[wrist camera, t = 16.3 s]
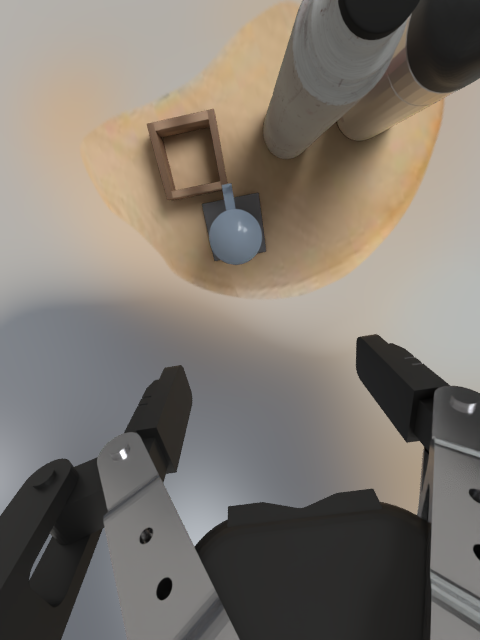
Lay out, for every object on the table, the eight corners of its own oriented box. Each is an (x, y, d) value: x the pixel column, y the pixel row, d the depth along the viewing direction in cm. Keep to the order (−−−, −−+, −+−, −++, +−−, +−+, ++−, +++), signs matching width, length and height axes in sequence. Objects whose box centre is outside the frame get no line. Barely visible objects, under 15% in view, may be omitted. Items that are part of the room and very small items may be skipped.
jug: (247, 188, 41) (253, 175, 27) (255, 244, 45) (265, 259, 30) (210, 195, 42) (197, 187, 27) (222, 250, 45) (215, 268, 31)
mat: (258, 192, 42) (258, 192, 41) (265, 251, 46) (266, 251, 46) (202, 204, 43) (201, 204, 42) (214, 260, 47) (214, 261, 46)
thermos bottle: (319, 104, 37) (503, -132, 12) (304, 164, 40) (422, 81, 15) (269, 91, 36) (347, -191, 11) (258, 153, 40) (297, 47, 14)
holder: (215, 117, 38) (213, 108, 34) (228, 188, 42) (227, 187, 38) (154, 131, 38) (146, 123, 35) (172, 200, 42) (167, 199, 39)
